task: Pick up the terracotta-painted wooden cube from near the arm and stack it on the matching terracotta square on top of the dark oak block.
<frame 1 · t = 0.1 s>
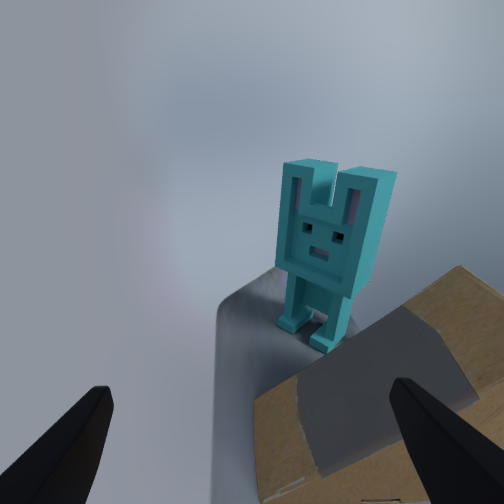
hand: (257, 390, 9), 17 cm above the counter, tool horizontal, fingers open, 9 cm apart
toy: (313, 328, 36), on the counter
sandwich container: (343, 443, 24), on the counter
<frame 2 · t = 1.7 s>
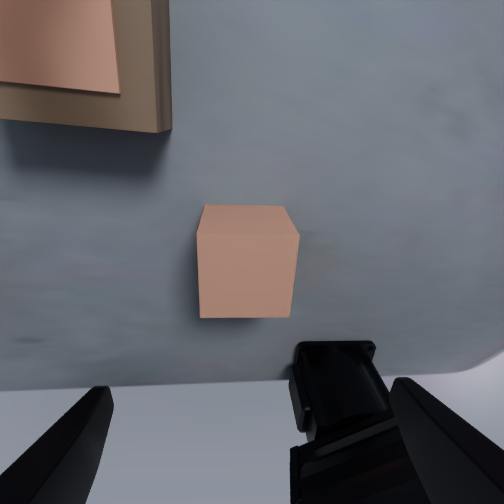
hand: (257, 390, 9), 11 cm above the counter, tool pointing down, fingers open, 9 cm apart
terracotta cube: (243, 240, 19), on the counter
oak base block: (88, 33, 14), on the counter
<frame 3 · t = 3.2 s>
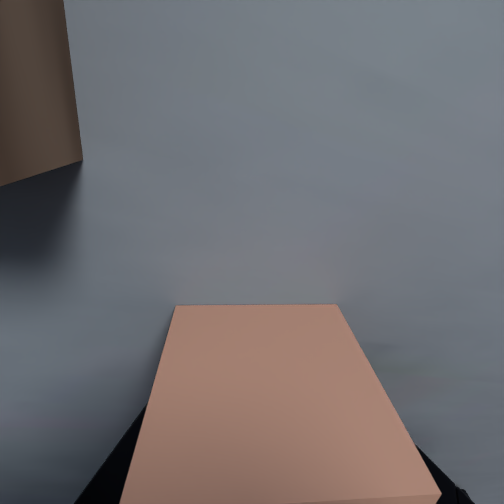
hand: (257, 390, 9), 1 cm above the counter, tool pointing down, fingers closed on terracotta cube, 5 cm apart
terracotta cube: (254, 363, 10), on the counter, touching gripper
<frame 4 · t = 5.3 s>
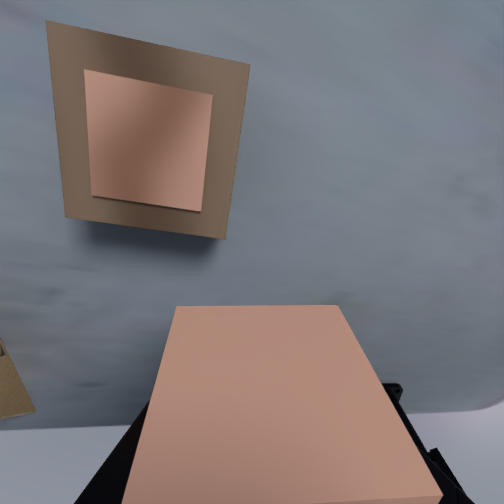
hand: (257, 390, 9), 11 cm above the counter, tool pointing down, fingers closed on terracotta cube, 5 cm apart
terracotta cube: (255, 364, 10), point 10 cm above the counter, touching gripper
oak base block: (168, 141, 17), on the counter
when the fingers open (6 cm above the counter, at t = 7.2 s): terracotta cube drops 2 cm, resting on oak base block.
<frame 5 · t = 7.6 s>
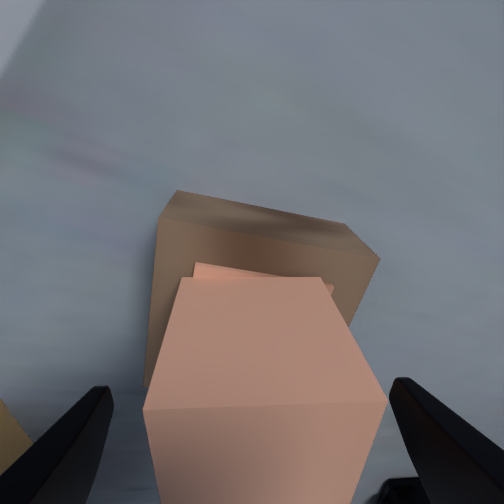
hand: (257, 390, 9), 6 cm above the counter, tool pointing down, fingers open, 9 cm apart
terracotta cube: (249, 331, 11), point 4 cm above the counter, touching oak base block
oak base block: (246, 277, 15), on the counter, touching terracotta cube
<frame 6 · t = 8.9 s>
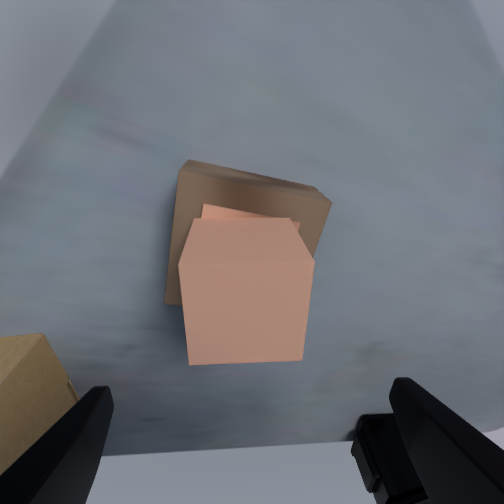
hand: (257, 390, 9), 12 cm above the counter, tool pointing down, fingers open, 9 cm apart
sandwich container: (33, 400, 26), on the counter
terracotta cube: (242, 260, 16), point 4 cm above the counter, touching oak base block
oak base block: (240, 230, 20), on the counter, touching terracotta cube
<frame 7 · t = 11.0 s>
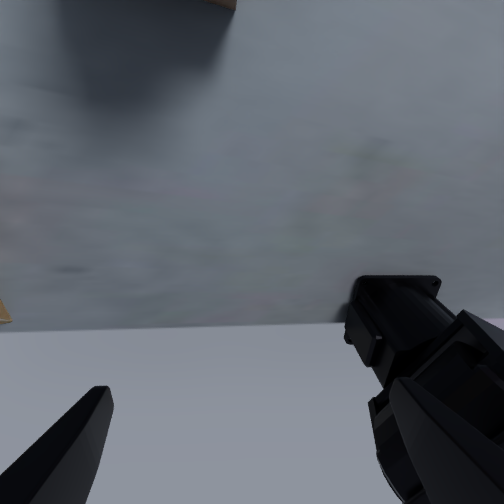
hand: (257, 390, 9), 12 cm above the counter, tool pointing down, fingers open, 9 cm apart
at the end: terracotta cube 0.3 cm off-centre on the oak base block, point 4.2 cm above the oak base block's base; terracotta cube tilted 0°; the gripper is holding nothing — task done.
